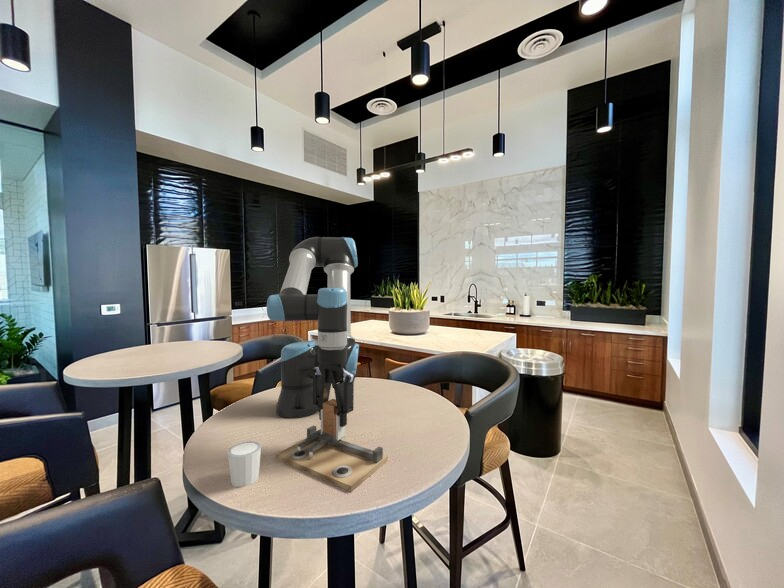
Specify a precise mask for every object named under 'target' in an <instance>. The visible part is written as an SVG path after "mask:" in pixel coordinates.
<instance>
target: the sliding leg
mask: <svg viewBox="0 0 784 588" xmlns="http://www.w3.org/2000/svg"><path fill="white" fill-rule="evenodd" d="M337 413H338V408H337V403H336V398H332V399H329V400H328V401H327V402H324V403H323V432H322V440H321V441H319V442H317V443H316V444H314V445H312V446H311V447H309V458H313V452H314V451H316V450H317V449H319V448H321V447H322V446H324V445H326V444H327V443H329V442H330V443H333V444H334V443H335V442H337V441H339V440H342V439H344V438H345V437H346V435H345V436H344V437H343V438H341V439H339V440H336V414H337Z"/></svg>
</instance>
